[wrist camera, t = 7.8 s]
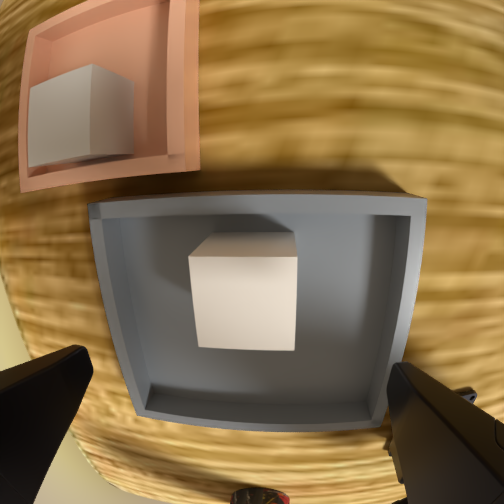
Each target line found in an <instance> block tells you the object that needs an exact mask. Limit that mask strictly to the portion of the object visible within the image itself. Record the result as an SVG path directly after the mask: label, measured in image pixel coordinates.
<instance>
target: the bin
mask: <svg viewBox="0 0 504 504" xmlns="http://www.w3.org/2000/svg"><path fill="white" fill-rule="evenodd" d="M87 205H88V214H89V223H90V230H91V238H92V244H93V251H94V257H95V263H96V269H97V274H98V279H99V284H100V289H101V294H102V299H103V303H104V308H105V312H106V316H107V320H108V324H109V328H110V332H111V336H112V340H113V343H114V347H115V350H116V354H117V357H118V361H119V364H120V367H121V370H122V374H123V377H124V380H125V383H126V386H127V389H128V392H129V395H130V397H131V400H132V403H133V406H134V409H135V411H136V414H137V416H142V417H147V418H152V419H157V420H163V421H168V422H174V423H181V424H188V425H195V426H203V427H211V428H221V429H232V430H245V431H265V432H322V431H341V430H354V429H365V428H375V427H381V424H382V421H383V419H384V416H385V413H386V410H387V407H388V399H387V393H386V388H387V383H388V379H389V376H390V372H391V368H392V366H393V364H394V363H396V362H401V361H402V357H403V354H404V350H405V346H406V342H407V337H408V333H409V329H410V324H411V319H412V315H413V310H414V304H415V299H416V293H417V288H418V282H419V275H420V268H421V261H422V253H423V245H424V235H425V224H426V211H427V199H426V198H423V197H420V196H416V195H413V194H409V193H400V192H380V191H354V190H229V191H202V192H182V193H165V194H150V195H136V196H124V197H113V198H108V199H104V200H100V201H96V202H93V203H89V204H87ZM213 232H294V235H295V242H296V250H297V299H296V326H295V349H294V351H286V350H245V349H224V348H208V347H199V346H198V338H197V331H196V323H195V315H194V306H193V297H192V288H191V279H190V269H189V258H188V256H189V255H190V254H191V253H192V252H193V251H194V250H195V249H196V248H197V247H198V246H199V245H200V244H201V243H202V242H203V241H204V240H205V239H206V238H207V237H208V236H209V235H210V234H211V233H213Z"/></svg>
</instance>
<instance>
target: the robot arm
mask: <svg viewBox="0 0 504 504" xmlns="http://www.w3.org/2000/svg"><path fill="white" fill-rule="evenodd" d="M92 375H93V365H92V363H91V360H90V357H89V354H88V351H87V349H86V348H85V347H84V346H80V345H71V346H69V347H66V348H63V349H61V350H58V351H55V352H53V353H50V354H47V355H44V356H42V357H39V358H36V359H33V360H31V361H28V362H25V363H23V364H20V365H17V366H14V367H12V368H9V369H6V370H3V371H0V504H33V503H34V501H35V498H36V496H37V494H38V491H39V489H40V487H41V484H42V482H43V480H44V478H45V475H46V474H47V471H48V469H49V467H50V465H51V463H52V461H53V459H54V457H55V455H56V453H57V450H58V448H59V446H60V444H61V442H62V440H63V438H64V436H65V434H66V432H67V431H68V429H69V427H70V425H71V423H72V421H73V419H74V417H75V415H76V413H77V411H78V409H79V406H80V404H81V402H82V399H83V397H84V394H85V392H86V389H87V387H88V385H89V382H90V380H91V378H92ZM386 393H387V399H388V406H389V412H390V419H391V426H392V433H393V439H392V441H391V443H390V445H389V447H390V448H389V450H388V454H389V456H392V458H393V462H394V466H395V470H396V474H397V478H398V482H399V483H401V484H404V485H405V490H406V494H407V497H406V498H404V499H402V500H397V501H395V502H393V503H392V504H504V424H503V423H502V422H500V421H499V420H497V419H496V420H495V418H494V417H492V416H491V415H489V414H488V413H486V412H485V411H483V410H482V409H480V408H478V407H477V406H475V405H474V404H473V403H474V401H475V399H476V397H477V393H476V392H475V391H474V390H471V391H467V392H463V393H458V394H457V393H455V392H454V391H452V390H451V389H449V388H448V387H446V386H445V385H443V384H441V383H440V382H438V381H437V380H435V379H434V378H432V377H431V376H429V375H428V374H426V373H425V372H423V371H422V370H420V369H419V368H417V367H415V366H414V365H412V364H411V363H409V362H396V363H394V364H393V366H392V368H391V372H390V376H389V379H388V383H387V388H386Z"/></svg>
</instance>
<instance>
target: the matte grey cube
mask: <svg viewBox="0 0 504 504" xmlns="http://www.w3.org/2000/svg"><path fill="white" fill-rule="evenodd" d="M133 111H134V81H131V80H129V79H127V78H125V77H123V76H120V75H118V74H116V73H114V72H111V71H109V70H107V69H104V68H102V67H100V66H97V65H95V64H90V65H87V66H84V67H81V68H78V69H75V70H73V71H70V72H67V73H65V74H62V75H59V76H57V77H54V78H52V79H50V80H47V81H45V82H43V83H40V84H38V85H36V86H33V87H31V88H30V97H29V112H28V168H29V167H38V166H47V165H58V164H69V163H79V162H84V161H90V160H96V159H103V158H109V157H116V156H123V155H131V154H134V129H133Z"/></svg>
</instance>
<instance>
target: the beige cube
mask: <svg viewBox="0 0 504 504" xmlns="http://www.w3.org/2000/svg"><path fill="white" fill-rule="evenodd" d="M188 258H189V269H190V279H191V288H192V297H193V306H194V315H195V323H196V331H197V338H198V346H199V347H208V348H224V349H245V350H286V351H294V349H295V326H296V299H297V250H296V242H295V235H294V232H213V233H211V234H210V235H209V236H208V237H207V238H206V239H205V240H204V241H203V242H202V243H201V244H200V245H199V246H198V247H197V248H196V249H195V250H194V251H193V252H192V253H191V254H190V255H189V256H188Z"/></svg>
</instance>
